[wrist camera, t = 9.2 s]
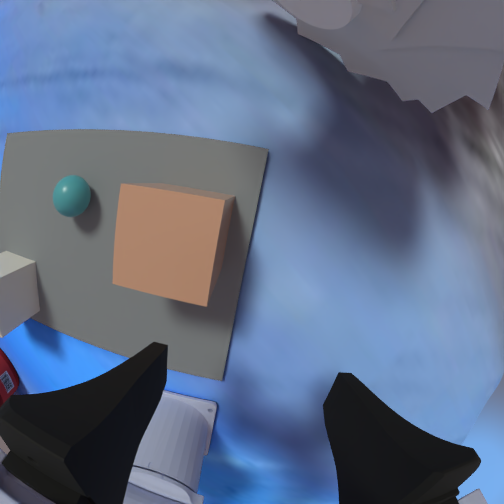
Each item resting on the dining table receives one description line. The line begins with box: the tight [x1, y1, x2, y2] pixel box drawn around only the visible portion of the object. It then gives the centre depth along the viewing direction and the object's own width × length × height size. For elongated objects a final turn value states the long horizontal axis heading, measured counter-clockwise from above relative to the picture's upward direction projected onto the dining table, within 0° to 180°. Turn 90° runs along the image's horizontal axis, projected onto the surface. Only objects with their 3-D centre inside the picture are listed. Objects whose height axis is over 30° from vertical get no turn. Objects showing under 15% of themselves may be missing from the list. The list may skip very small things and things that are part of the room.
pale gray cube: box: [0, 251, 40, 338], centre depth 16 cm, size 5×5×6 cm
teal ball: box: [53, 175, 91, 217], centre depth 16 cm, size 3×3×3 cm
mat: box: [0, 129, 269, 381], centre depth 19 cm, size 18×25×1 cm
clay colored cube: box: [113, 183, 235, 307], centre depth 15 cm, size 5×5×6 cm
